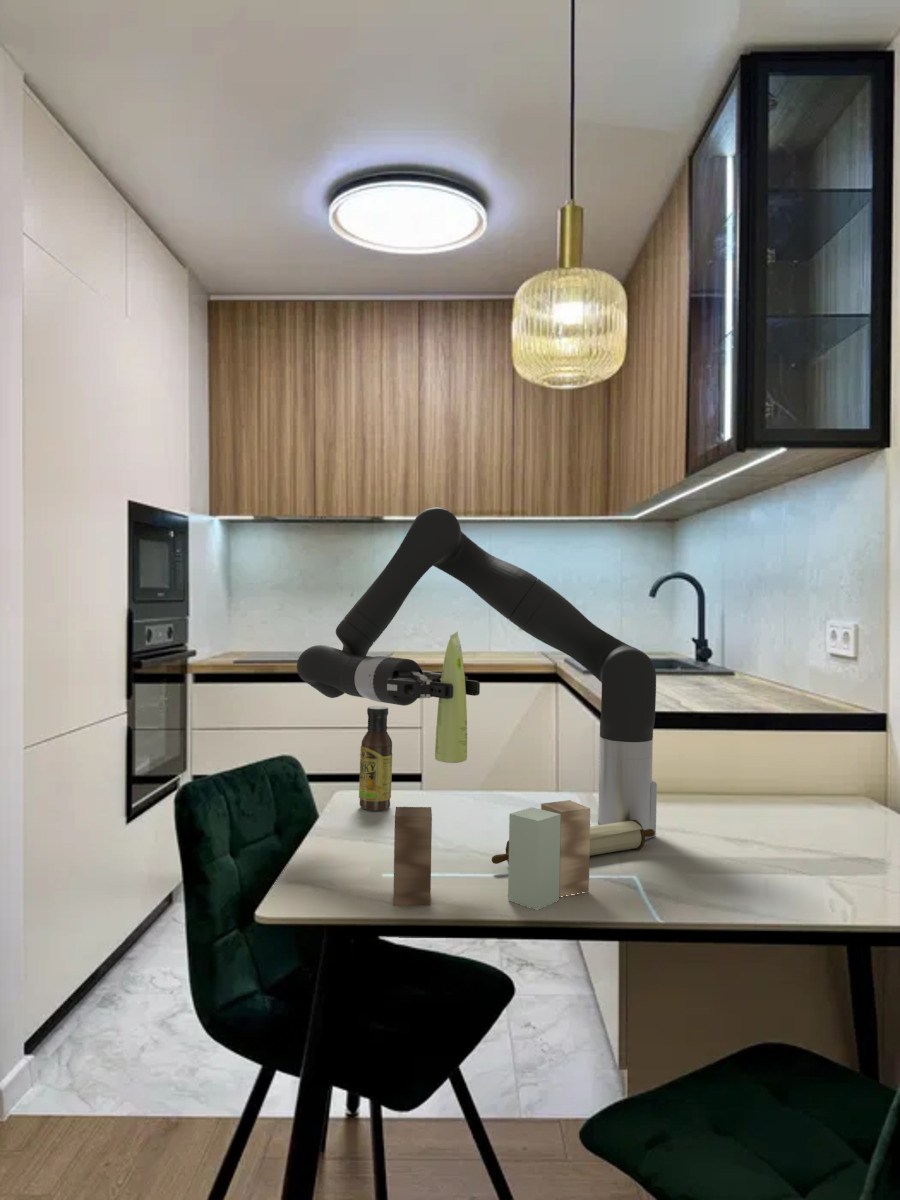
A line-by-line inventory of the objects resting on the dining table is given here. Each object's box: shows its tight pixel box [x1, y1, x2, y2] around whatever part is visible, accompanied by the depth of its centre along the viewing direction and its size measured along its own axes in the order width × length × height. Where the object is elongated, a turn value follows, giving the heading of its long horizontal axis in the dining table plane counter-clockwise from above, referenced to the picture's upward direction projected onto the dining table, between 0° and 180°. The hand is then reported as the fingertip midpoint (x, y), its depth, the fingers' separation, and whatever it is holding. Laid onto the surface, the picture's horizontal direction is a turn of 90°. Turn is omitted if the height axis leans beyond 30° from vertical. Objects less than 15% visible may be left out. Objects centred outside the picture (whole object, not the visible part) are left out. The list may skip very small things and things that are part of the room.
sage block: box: [507, 806, 561, 911], centre depth 113 cm, size 5×5×12 cm
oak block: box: [540, 799, 591, 897], centre depth 117 cm, size 5×5×12 cm
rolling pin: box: [491, 820, 655, 866], centre depth 132 cm, size 32×6×5 cm, turn 119°
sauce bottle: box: [358, 705, 393, 812], centre depth 160 cm, size 6×6×20 cm
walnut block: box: [392, 806, 433, 906], centre depth 113 cm, size 5×5×12 cm
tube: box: [434, 631, 468, 764], centre depth 125 cm, size 6×5×20 cm
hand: (464, 690), depth 123 cm, fingers closed on tube, 5 cm apart
